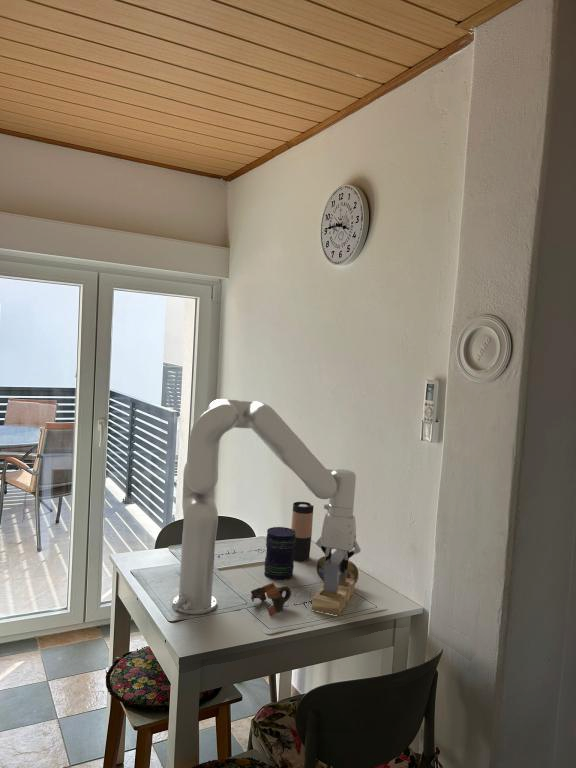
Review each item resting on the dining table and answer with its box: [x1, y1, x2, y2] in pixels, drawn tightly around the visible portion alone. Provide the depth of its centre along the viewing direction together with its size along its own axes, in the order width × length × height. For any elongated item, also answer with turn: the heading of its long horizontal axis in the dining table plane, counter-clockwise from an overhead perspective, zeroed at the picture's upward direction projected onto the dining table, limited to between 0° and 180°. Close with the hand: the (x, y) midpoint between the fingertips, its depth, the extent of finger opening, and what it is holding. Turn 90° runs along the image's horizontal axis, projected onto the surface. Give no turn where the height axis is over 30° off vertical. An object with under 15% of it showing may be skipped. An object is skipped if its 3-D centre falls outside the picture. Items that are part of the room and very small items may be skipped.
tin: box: [316, 555, 359, 584], centre depth 194 cm, size 15×3×8 cm, turn 54°
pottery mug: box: [250, 582, 292, 616], centre depth 173 cm, size 12×10×8 cm
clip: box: [323, 549, 350, 594], centre depth 179 cm, size 14×4×9 cm, turn 160°
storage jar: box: [263, 526, 296, 581], centre depth 197 cm, size 10×10×15 cm
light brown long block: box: [311, 578, 356, 616], centre depth 180 cm, size 20×8×4 cm, turn 160°
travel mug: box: [290, 501, 314, 562], centre depth 215 cm, size 8×8×20 cm
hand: (336, 569), depth 179 cm, fingers closed on clip, 4 cm apart
